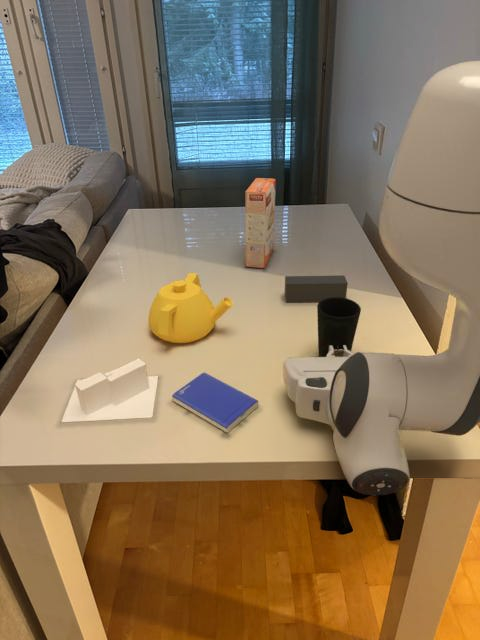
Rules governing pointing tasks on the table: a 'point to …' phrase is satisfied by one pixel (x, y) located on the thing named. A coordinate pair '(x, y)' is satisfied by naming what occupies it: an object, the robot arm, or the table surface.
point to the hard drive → (215, 401)
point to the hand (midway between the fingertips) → (336, 348)
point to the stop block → (314, 288)
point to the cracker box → (259, 222)
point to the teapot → (184, 311)
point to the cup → (336, 323)
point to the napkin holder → (113, 395)
